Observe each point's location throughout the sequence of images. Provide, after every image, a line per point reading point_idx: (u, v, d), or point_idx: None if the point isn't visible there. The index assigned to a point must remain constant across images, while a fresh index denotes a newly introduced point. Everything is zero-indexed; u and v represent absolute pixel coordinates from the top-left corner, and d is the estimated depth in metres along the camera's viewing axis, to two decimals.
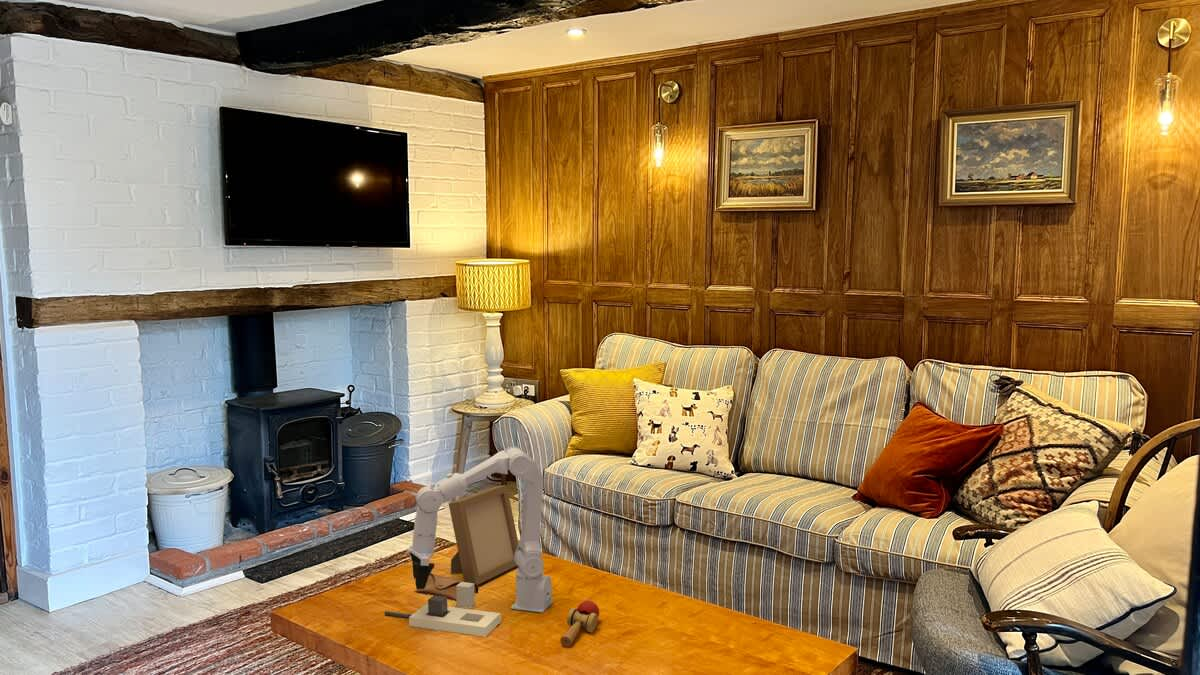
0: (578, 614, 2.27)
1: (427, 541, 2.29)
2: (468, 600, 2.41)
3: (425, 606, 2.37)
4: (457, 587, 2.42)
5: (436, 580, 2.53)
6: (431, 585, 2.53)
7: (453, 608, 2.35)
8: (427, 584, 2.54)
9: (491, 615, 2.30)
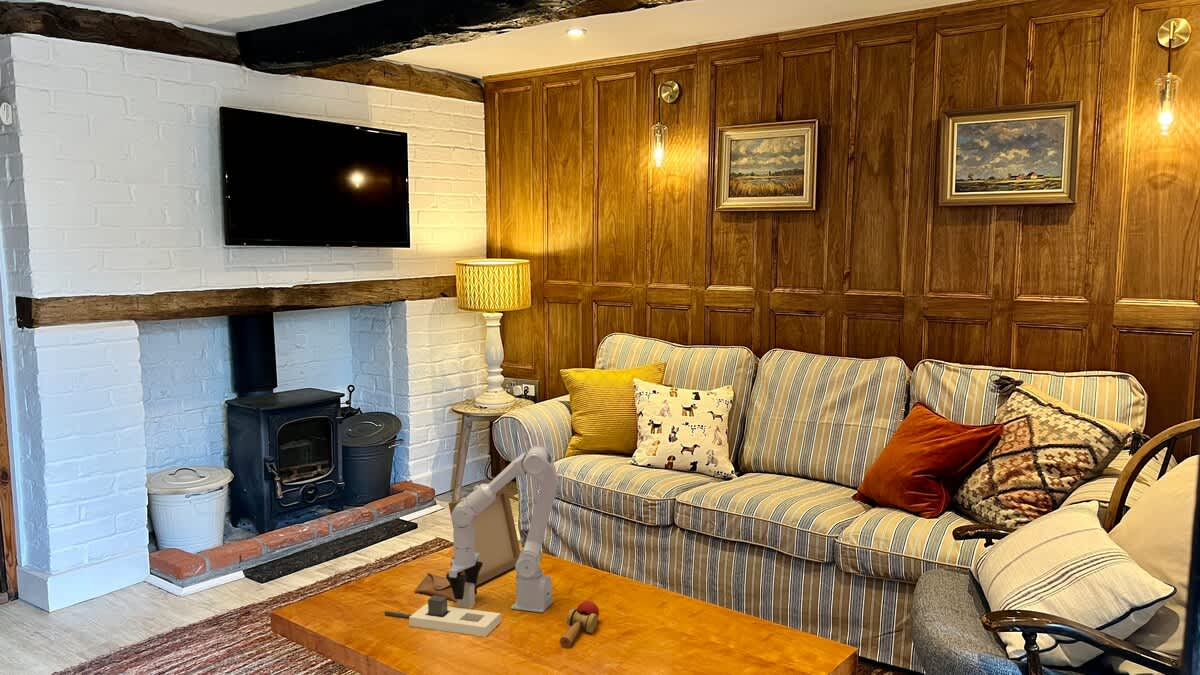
0: (578, 614, 2.26)
1: (461, 554, 2.39)
2: (468, 600, 2.41)
3: (425, 606, 2.37)
4: None
5: (435, 581, 2.53)
6: (430, 586, 2.52)
7: (453, 608, 2.35)
8: (426, 585, 2.53)
9: (491, 615, 2.30)
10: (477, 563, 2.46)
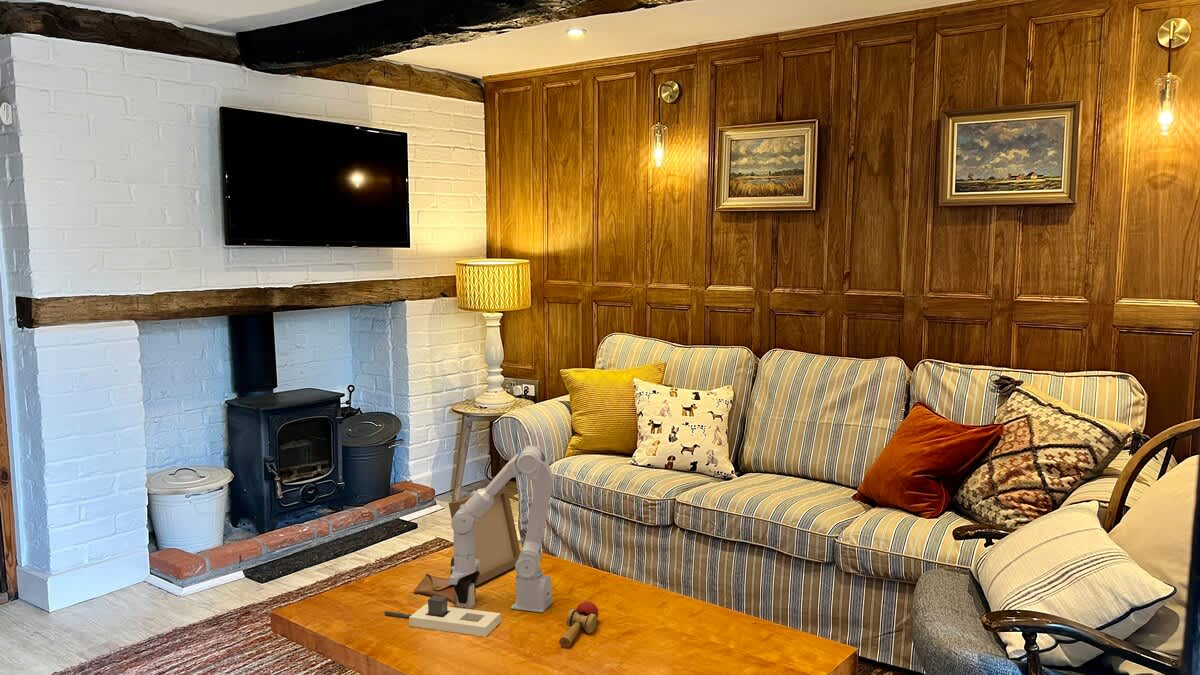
0: (577, 615, 2.26)
1: (462, 561, 2.39)
2: (468, 600, 2.41)
3: (425, 606, 2.37)
4: None
5: (433, 581, 2.52)
6: (428, 586, 2.52)
7: (453, 608, 2.35)
8: (424, 585, 2.53)
9: (491, 615, 2.30)
10: (474, 572, 2.44)
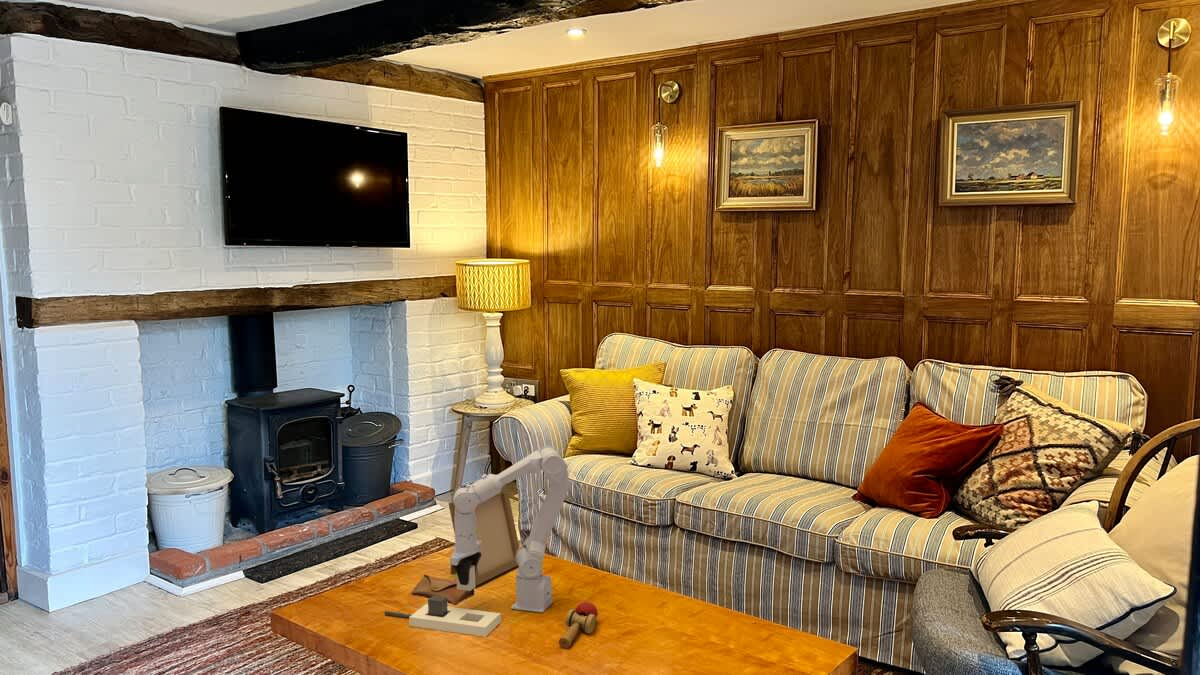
0: (576, 615, 2.26)
1: (463, 541, 2.34)
2: (468, 582, 2.36)
3: (425, 606, 2.37)
4: None
5: (432, 582, 2.52)
6: (426, 587, 2.51)
7: (453, 608, 2.35)
8: (422, 586, 2.52)
9: (491, 615, 2.30)
10: (476, 553, 2.39)
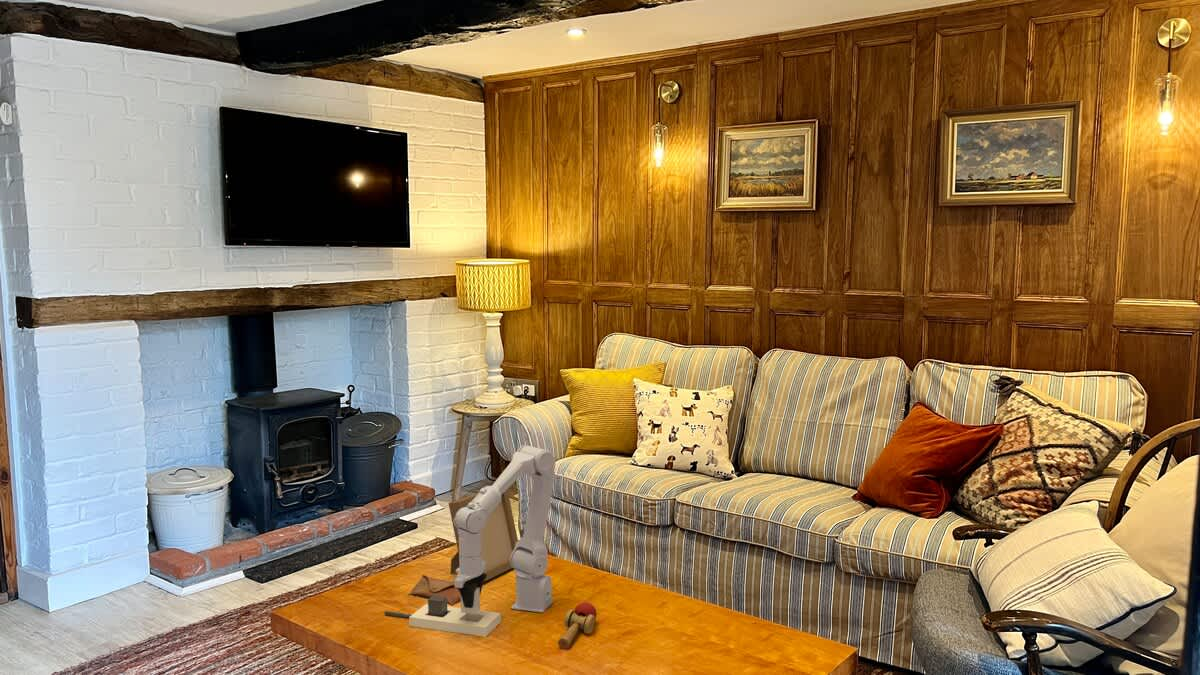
0: (575, 616, 2.26)
1: (468, 562, 2.25)
2: (473, 605, 2.27)
3: (425, 606, 2.37)
4: None
5: (430, 583, 2.51)
6: (425, 588, 2.50)
7: (453, 608, 2.35)
8: (421, 587, 2.52)
9: (491, 615, 2.30)
10: (481, 575, 2.30)
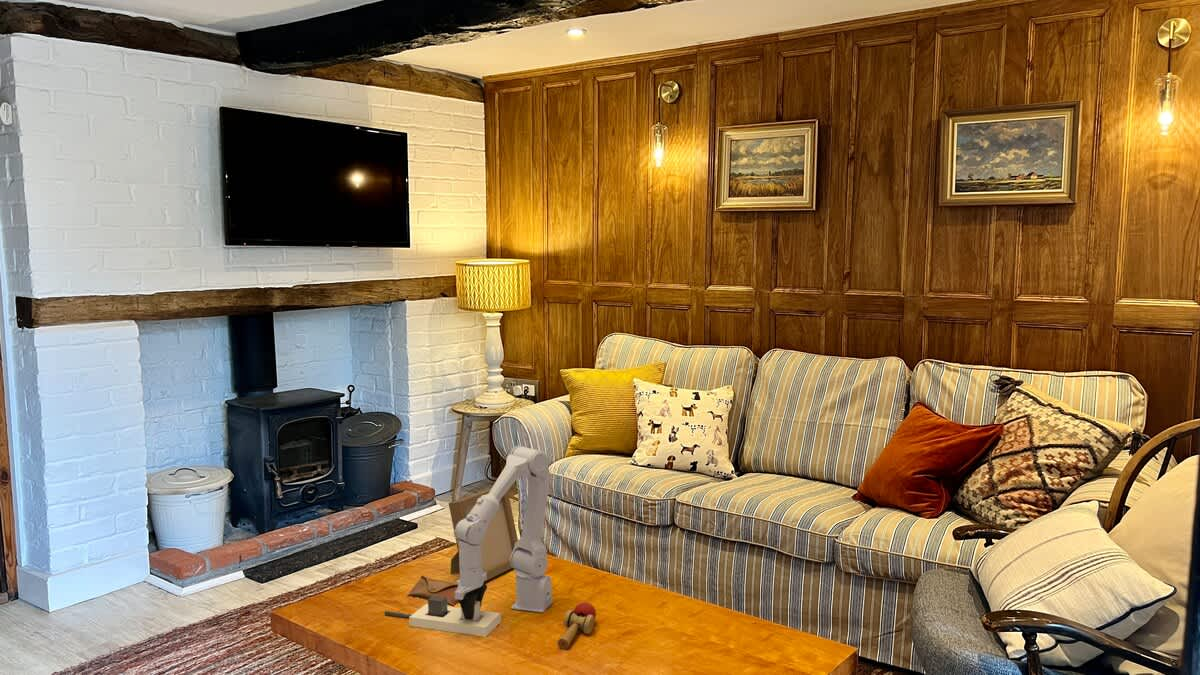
0: (575, 616, 2.25)
1: (468, 574, 2.25)
2: (473, 619, 2.27)
3: (425, 606, 2.37)
4: None
5: (429, 583, 2.51)
6: (424, 589, 2.50)
7: (453, 608, 2.35)
8: (420, 588, 2.51)
9: (491, 615, 2.30)
10: (481, 586, 2.31)
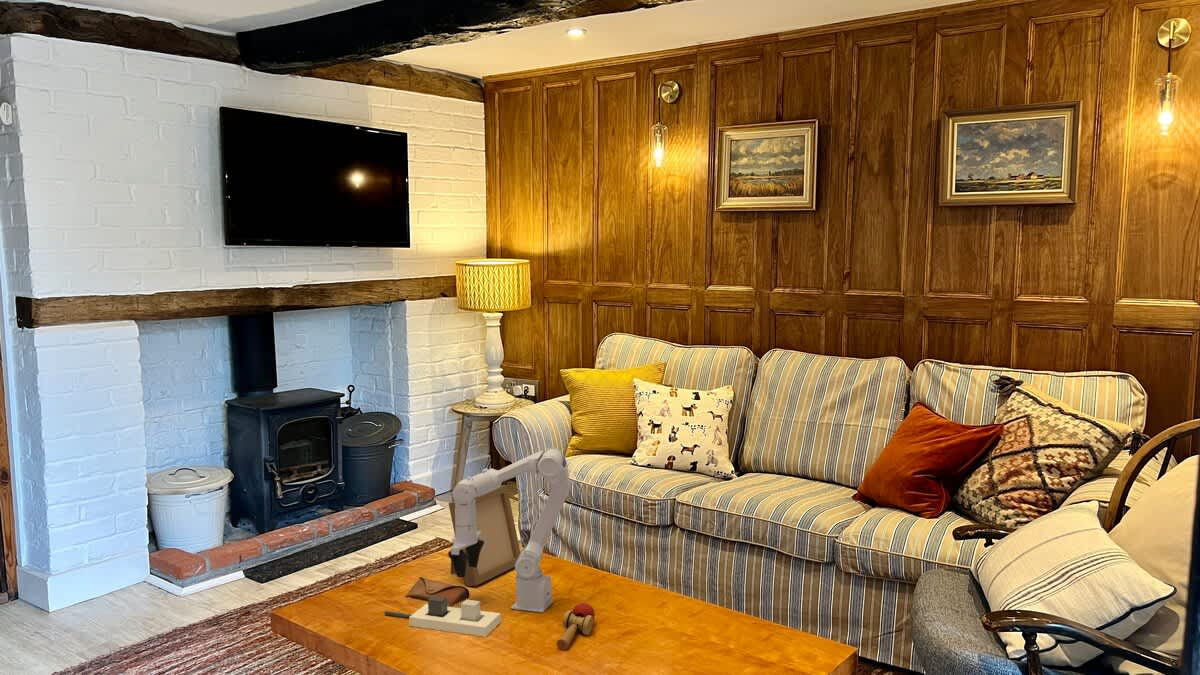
0: (574, 617, 2.25)
1: (463, 531, 2.39)
2: (473, 619, 2.27)
3: (425, 606, 2.37)
4: (462, 605, 2.28)
5: (427, 585, 2.50)
6: (422, 590, 2.49)
7: (453, 608, 2.35)
8: (418, 589, 2.50)
9: (491, 615, 2.30)
10: (479, 541, 2.46)
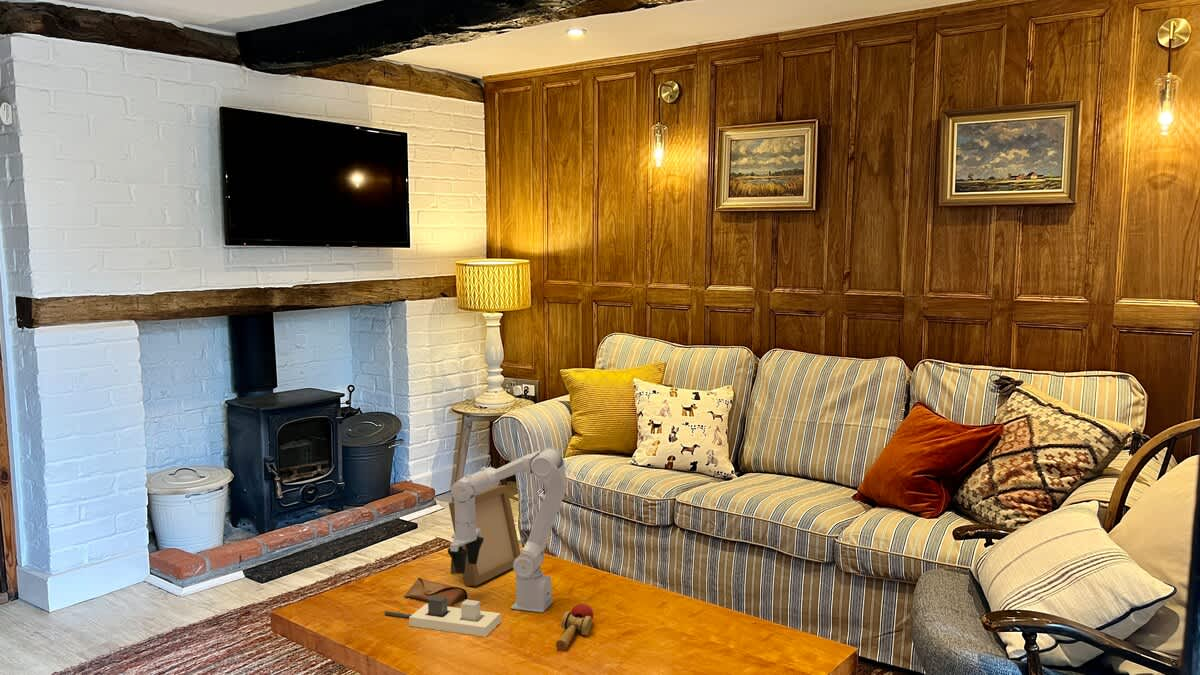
0: (572, 617, 2.25)
1: (463, 528, 2.41)
2: (473, 619, 2.27)
3: (425, 606, 2.37)
4: (462, 605, 2.28)
5: (425, 585, 2.49)
6: (420, 591, 2.49)
7: (453, 608, 2.35)
8: (416, 589, 2.50)
9: (491, 615, 2.30)
10: (478, 538, 2.49)
